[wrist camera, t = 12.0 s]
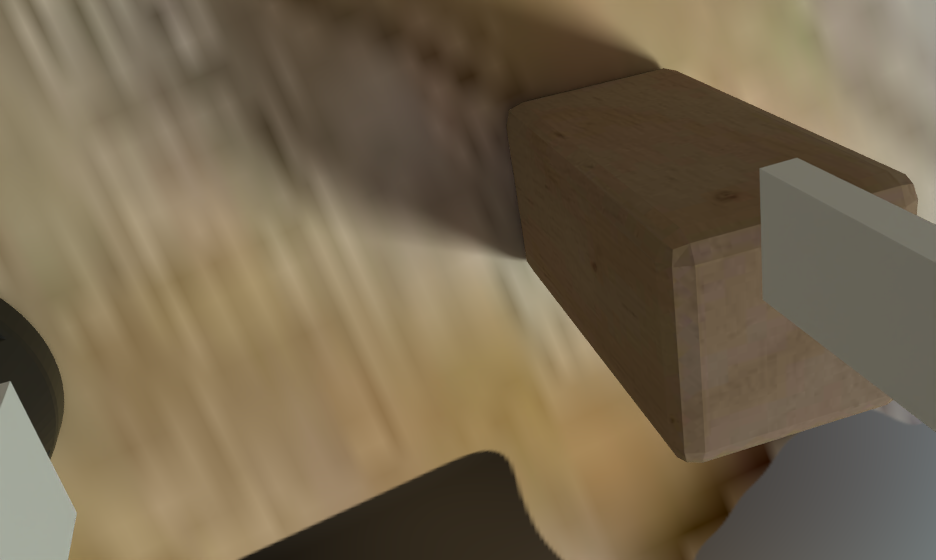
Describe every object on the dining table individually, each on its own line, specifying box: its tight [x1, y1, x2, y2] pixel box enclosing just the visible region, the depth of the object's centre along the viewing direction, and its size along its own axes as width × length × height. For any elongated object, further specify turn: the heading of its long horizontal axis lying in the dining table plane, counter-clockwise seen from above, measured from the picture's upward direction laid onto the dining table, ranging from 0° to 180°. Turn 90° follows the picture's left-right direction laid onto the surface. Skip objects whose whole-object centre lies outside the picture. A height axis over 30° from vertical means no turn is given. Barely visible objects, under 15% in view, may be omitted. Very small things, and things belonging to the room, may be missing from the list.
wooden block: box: [506, 68, 918, 463], centre depth 41 cm, size 10×10×20 cm
